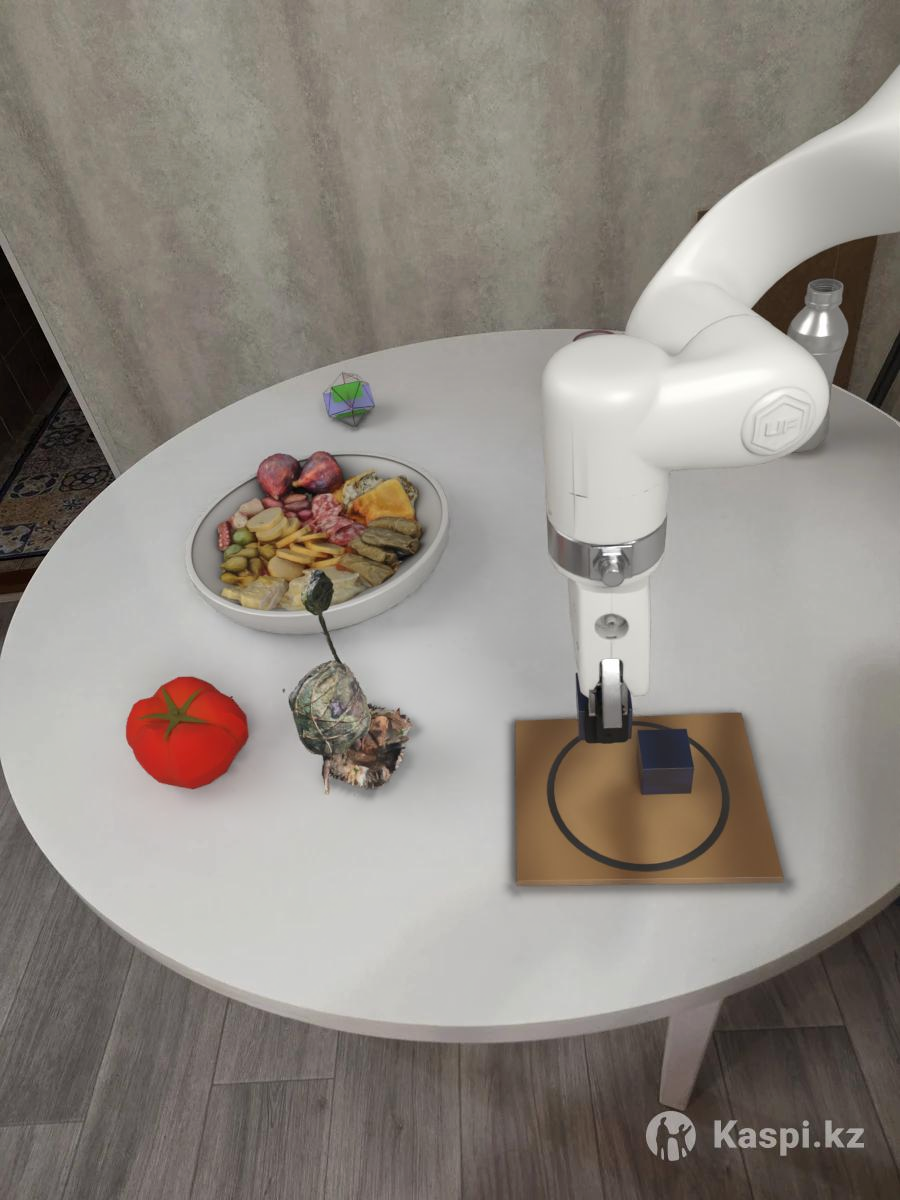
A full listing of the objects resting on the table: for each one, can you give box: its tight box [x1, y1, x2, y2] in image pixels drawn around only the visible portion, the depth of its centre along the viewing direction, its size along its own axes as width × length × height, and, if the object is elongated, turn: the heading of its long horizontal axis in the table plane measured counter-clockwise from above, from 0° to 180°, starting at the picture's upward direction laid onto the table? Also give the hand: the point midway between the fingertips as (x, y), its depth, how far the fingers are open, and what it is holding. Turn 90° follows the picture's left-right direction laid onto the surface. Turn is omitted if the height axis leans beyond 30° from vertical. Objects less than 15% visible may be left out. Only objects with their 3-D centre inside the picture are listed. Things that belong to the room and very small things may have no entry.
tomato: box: [125, 676, 250, 790], centre depth 79 cm, size 10×11×6 cm
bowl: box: [184, 450, 451, 635], centre depth 98 cm, size 30×30×8 cm
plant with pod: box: [281, 569, 414, 796], centre depth 72 cm, size 8×11×20 cm
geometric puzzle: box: [321, 371, 376, 429], centre depth 122 cm, size 7×7×8 cm
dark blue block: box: [575, 671, 634, 740], centre depth 67 cm, size 4×4×4 cm
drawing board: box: [515, 712, 784, 887], centre depth 72 cm, size 20×16×1 cm
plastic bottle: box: [786, 278, 849, 453], centre depth 100 cm, size 6×7×20 cm
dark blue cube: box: [636, 729, 694, 795], centre depth 71 cm, size 4×4×4 cm
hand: (603, 714), depth 68 cm, fingers closed on dark blue block, 4 cm apart
